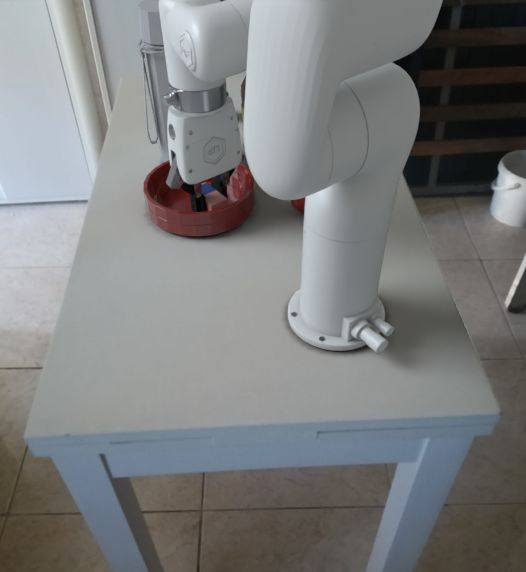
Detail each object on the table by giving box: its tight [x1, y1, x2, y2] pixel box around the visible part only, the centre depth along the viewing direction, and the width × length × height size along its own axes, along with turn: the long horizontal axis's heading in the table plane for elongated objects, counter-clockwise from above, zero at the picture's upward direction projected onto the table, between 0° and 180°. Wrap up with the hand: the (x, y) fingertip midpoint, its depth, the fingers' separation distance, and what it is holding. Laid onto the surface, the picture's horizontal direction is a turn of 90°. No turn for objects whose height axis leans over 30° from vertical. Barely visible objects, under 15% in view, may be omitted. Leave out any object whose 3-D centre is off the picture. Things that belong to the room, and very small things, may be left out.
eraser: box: [202, 182, 228, 211], centre depth 89 cm, size 6×3×3 cm, turn 38°
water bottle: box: [136, 0, 171, 163], centre depth 92 cm, size 9×8×25 cm
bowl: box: [142, 160, 256, 237], centre depth 90 cm, size 17×17×4 cm
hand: (210, 209), depth 90 cm, fingers closed on eraser, 3 cm apart
